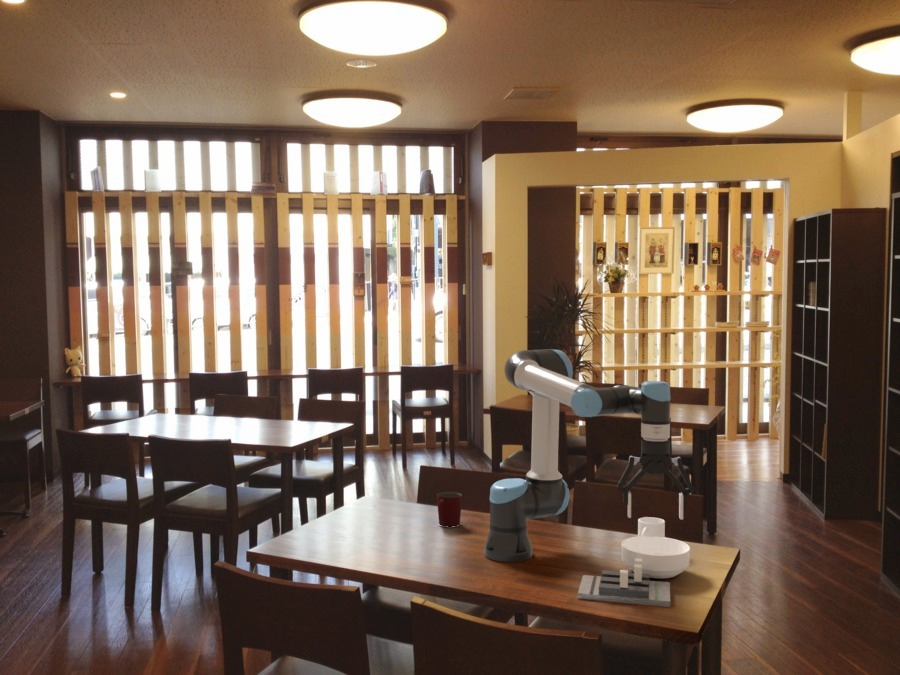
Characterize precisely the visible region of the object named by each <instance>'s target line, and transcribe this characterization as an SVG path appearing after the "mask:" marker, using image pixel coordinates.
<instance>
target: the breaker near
mask: <svg viewBox="0 0 900 675" xmlns="http://www.w3.org/2000/svg"><path fill="white" fill-rule="evenodd" d="M619 572H620V587H622V588H628V572H629V570H628V569H620V570H619Z"/></svg>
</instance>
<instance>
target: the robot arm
mask: <svg viewBox="0 0 900 675" xmlns="http://www.w3.org/2000/svg"><path fill="white" fill-rule="evenodd" d="M503 368H504V376H505V379H506V380H507V382H508V383H509V384H510V385H511V386H513V387H515V388H517V389H519V390H521V391H527V392H528V393H529V394H530V395H532V406H531V407H532V413H531V414H532V416H531V417H532V418H531V420H532V421H531V456H530V457H531V458H530V460H531V461H530V470H528V472H526V474H525V477H526V478H525V479H523V478H516V477H514V478H503V479H500V480H497V481H496V482H494V483H493V484H492V485H491V486H490V492H489V531H488V532H489V533H488V535H487V538H486V541H485V544H484V549H483V550H484V552H483V553H484V556H485V557H486V558H487V559H490V560H492V561H497V562H503V563H516V562H517V563H518V562H524V561H526V560H527V561H528V560H529V559H531V558H533V547H532V546H533V545H532V543H531V540H530V536H529V534H528V520H533V519H540V518H546V517H547V518H548V517H554V516H556V515H559V514H560V515H561V514H562V513H563V512H564V511H565V510H566V509H567V508H568V504H569V502H570V495H571V494H570V489H569V487H568V484H567V482H566V481H565V480H564V479H563V474H562V473H560V471H559V470H558V469H559V437H560V434H559V431H560V403H561V404H563V405H566V406H567V407H570V408H572V412H574V414H575V415H576V416H578V417H580V418H583V417H585V418H594V417H601V416H610V415H611V416H612V415H614V416H615V415H623V414H625V415H626V414H630V415H639V416H640V417H641V419H640V432H641V433H640V437H641V438H642V439H641V440H640V444H641V445H640V456H639V457H638V456H633V455H629V457H628V463H627V466H625V469H624V471H623V473H622V475H621V476H620V479H619V480H618V483H617V484H616V489H617V491H619V492H622V494H623V495H622V496H623V499H622V500H623V501H622V502H623V504H624V505H627V518H628V519H631V518H632V493H631V490H632V489H633V487H634V486H635V485H636V484H637V483H638V481H640V479H642V478H643V477H644V476H645V475H646V474H650V475H653V474H654V475H655V474H657V475H662V474H666V475H667V477H668V478H670V480H671V481H672V483H674V485H675V486H676V487H677V488H678V489H679V491H680V492H679V493H678V517H679V519H680V520H684V507H687V506H688V496H689V494H693V493H695V488H694V486H693V483H692V481H691V480H690V477H689V476H688V474H687V472H686V470H685V468H684V465H683V459H682V457H681V456H676V457H671V441H670V440H669V439H670V438H671V398H672V397H671V386H670V384H669V383H668V382H667V381H663V380H662V381H661V380H660V381H657V380H648V381H647V380H645V381H643V382H642V383H641V387H639V386H632V385H626V384H621V385H619V384H617V385H614V386H612V387H594V386H592V385H589V384H587V383H584V382H581V381H579V380H577V379H573V374H574V370H573V365H572V362H571V360H570V357H568V354H566V353H565V352H564V351H563V350H560V349H551V348H549V349H548V348H547V349H546V348H545V349H531V350H530V349H529V350H525V349H524V350H519V351H515V352H514V353H512V354H511V355H510V356H509V357H508V358H507V360H506V361H505V364H504V367H503ZM637 463H640V465H641V467H640V468H639V470H638V471H637V472H636V473H635V474H634V476H633V477H631V479H630V480H629V481H628V482H627V480H628V478H629V477H630V474H631V472H632V470H633V469H634V466H636V465H637ZM672 464H674V466H675V467H677V469H678V470H679V472H680V474H681V477H682V478H683V481H684V483H685V484H686V486H687V487H686V488H685V486H683V484H682V483H681V482H680V480H678V478H677V477H676V476H675V474H673V472H672V471H671V470H670V468H669V467H670V465H672ZM626 482H627V483H626ZM625 483H626V484H625Z"/></svg>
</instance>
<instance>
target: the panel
mask: <svg viewBox="0 0 900 675" xmlns="http://www.w3.org/2000/svg"><path fill="white" fill-rule="evenodd" d="M577 599H578V600H579V599H580V600H588V601H589V600H590V601H600V602H601V601H602V602H609V603H610V602H611V603H621V604H622V603H623V604H630V605H641V606H643V605H644V606H655V607H663V608H671V583H670V582H669V581H657V580H650V577H649V574H642V582H634V572H629V571H628V588H622V587H620V571H616V570H605V569H602V571H601V576H597V575H587V574H583V575H582V577H581V581H580V585H579V588H578V591H577Z"/></svg>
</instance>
